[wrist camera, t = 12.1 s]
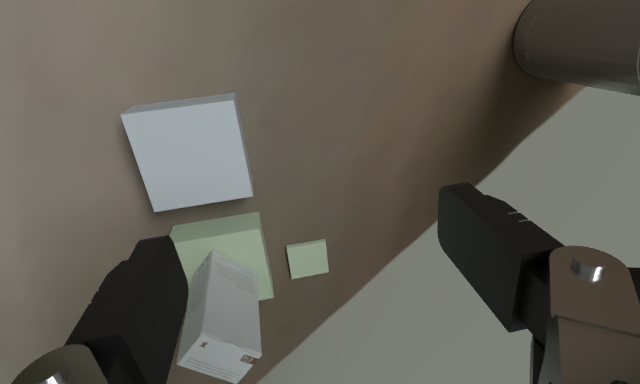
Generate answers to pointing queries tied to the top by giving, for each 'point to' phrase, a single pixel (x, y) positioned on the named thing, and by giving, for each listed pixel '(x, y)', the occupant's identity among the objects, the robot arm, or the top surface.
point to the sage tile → (307, 258)
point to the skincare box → (221, 320)
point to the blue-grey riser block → (190, 151)
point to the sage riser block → (225, 246)
